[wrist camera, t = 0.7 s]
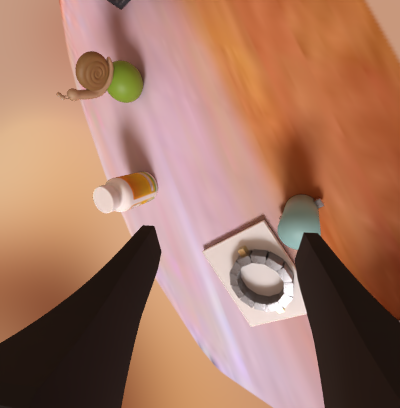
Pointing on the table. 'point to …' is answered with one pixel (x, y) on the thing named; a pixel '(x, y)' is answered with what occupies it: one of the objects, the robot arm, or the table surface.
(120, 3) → the box
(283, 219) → the teal peg
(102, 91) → the snail figurine
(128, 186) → the supplement bottle
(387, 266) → the table surface
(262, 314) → the collar plate
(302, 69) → the table surface
